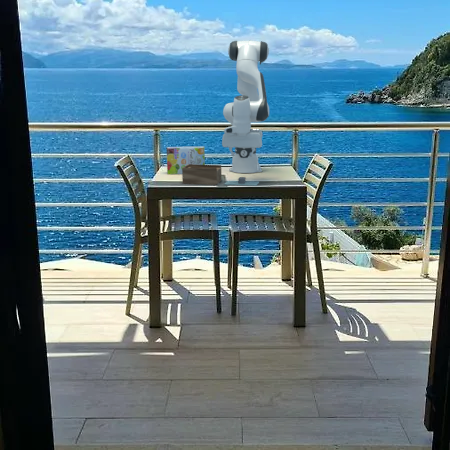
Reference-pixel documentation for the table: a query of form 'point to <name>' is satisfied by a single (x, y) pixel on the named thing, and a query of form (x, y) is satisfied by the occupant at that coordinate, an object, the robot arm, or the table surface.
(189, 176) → the walnut box
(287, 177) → the table surface
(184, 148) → the snack box
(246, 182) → the lid
